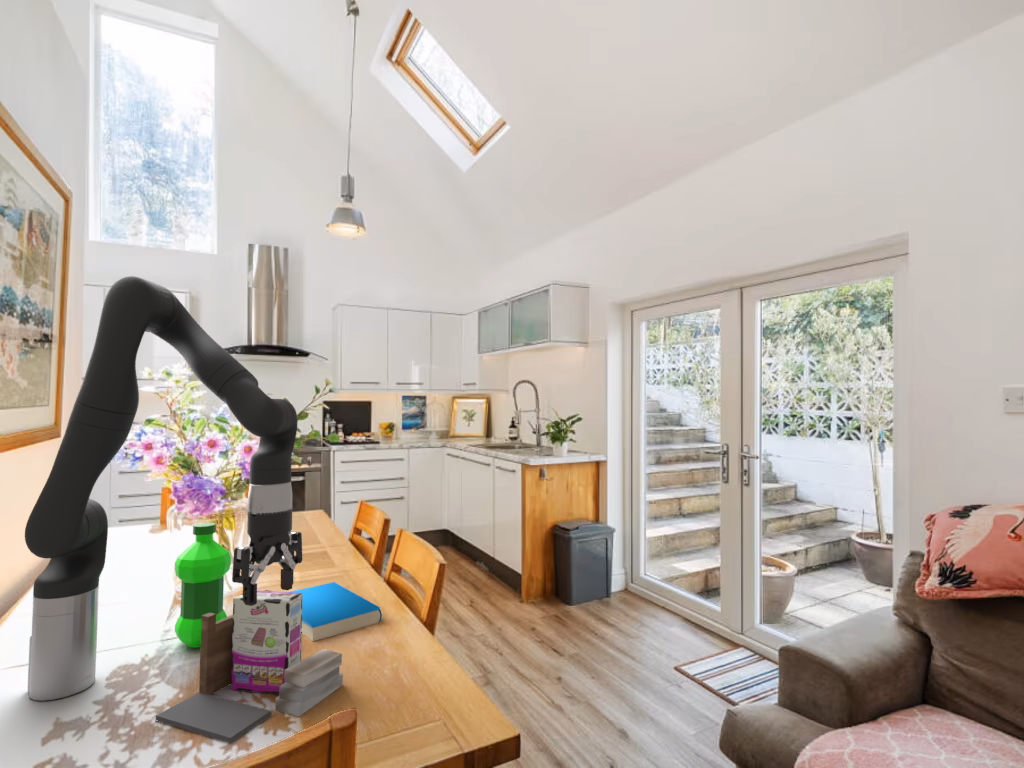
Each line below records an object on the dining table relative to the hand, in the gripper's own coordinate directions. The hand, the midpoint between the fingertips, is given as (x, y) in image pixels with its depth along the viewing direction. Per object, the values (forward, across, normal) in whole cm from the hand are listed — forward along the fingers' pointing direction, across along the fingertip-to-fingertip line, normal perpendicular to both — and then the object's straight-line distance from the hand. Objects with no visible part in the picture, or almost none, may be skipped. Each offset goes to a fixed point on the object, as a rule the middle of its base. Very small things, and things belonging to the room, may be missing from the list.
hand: (269, 596), depth 101 cm
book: (+17, -31, -13) cm, 38 cm away
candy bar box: (+16, 0, 0) cm, 16 cm away
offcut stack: (+16, 0, +10) cm, 19 cm away
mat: (+16, +11, 0) cm, 19 cm away
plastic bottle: (+16, -9, -27) cm, 33 cm away
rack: (+16, 0, -7) cm, 17 cm away
